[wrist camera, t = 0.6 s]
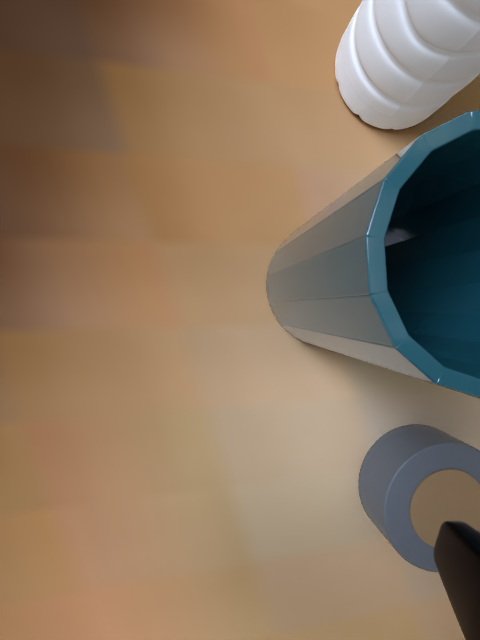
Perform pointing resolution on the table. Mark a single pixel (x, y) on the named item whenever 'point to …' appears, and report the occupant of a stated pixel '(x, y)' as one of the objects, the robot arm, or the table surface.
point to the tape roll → (419, 488)
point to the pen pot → (395, 264)
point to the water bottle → (407, 58)
